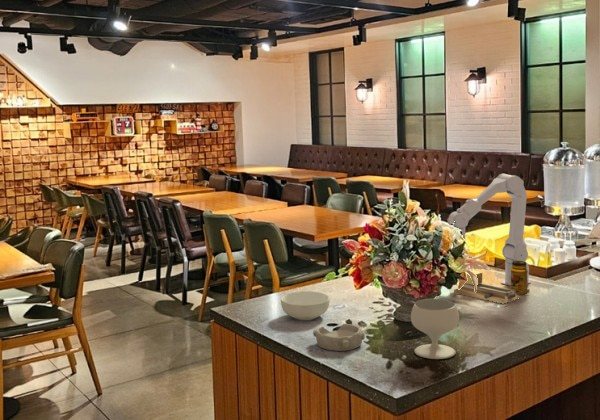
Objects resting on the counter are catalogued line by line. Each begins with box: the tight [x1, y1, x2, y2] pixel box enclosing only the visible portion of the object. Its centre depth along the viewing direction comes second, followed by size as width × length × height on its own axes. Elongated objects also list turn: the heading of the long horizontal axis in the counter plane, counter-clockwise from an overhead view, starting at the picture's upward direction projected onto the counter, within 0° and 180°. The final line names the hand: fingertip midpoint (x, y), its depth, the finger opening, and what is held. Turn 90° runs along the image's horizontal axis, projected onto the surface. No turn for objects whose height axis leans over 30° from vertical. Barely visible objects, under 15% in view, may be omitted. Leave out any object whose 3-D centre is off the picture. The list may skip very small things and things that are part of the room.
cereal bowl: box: [280, 290, 330, 321], centre depth 247 cm, size 17×17×7 cm
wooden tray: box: [453, 282, 520, 305], centre depth 267 cm, size 12×22×4 cm, turn 40°
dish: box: [312, 323, 366, 352], centre depth 218 cm, size 14×14×5 cm
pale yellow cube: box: [466, 270, 483, 286], centre depth 271 cm, size 5×5×5 cm
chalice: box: [410, 298, 460, 360], centre depth 208 cm, size 14×14×15 cm
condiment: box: [510, 261, 531, 296], centre depth 270 cm, size 7×8×12 cm
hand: (457, 277), depth 276 cm, fingers closed
